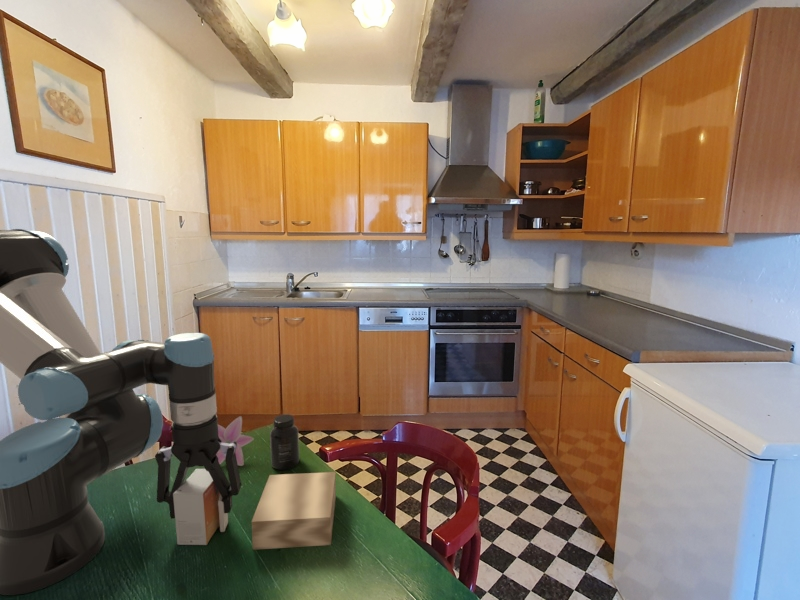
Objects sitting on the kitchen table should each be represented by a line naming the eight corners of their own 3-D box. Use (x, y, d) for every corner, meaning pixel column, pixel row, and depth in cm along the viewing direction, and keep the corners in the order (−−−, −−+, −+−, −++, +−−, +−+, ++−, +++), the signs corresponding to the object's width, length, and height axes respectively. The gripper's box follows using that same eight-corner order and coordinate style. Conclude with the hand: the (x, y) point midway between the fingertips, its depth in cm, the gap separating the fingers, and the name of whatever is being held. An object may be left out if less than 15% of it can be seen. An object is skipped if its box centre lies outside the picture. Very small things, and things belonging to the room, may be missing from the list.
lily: (191, 468, 97) (190, 446, 92) (218, 430, 107) (219, 408, 101) (236, 484, 97) (237, 463, 92) (259, 445, 107) (262, 423, 101)
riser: (253, 551, 71) (251, 521, 70) (270, 500, 85) (269, 475, 84) (330, 546, 72) (330, 517, 71) (335, 496, 86) (335, 472, 85)
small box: (206, 546, 71) (202, 494, 70) (176, 545, 71) (171, 493, 70) (226, 515, 79) (223, 468, 78) (199, 515, 79) (195, 467, 78)
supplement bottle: (304, 458, 100) (303, 414, 98) (290, 473, 94) (288, 426, 92) (281, 453, 102) (279, 410, 100) (265, 468, 96) (263, 422, 94)
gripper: (124, 431, 66) (137, 550, 70) (246, 423, 70) (253, 537, 73) (145, 412, 74) (156, 520, 77) (255, 405, 77) (260, 510, 81)
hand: (203, 528), depth 75 cm, fingers open, 7 cm apart
